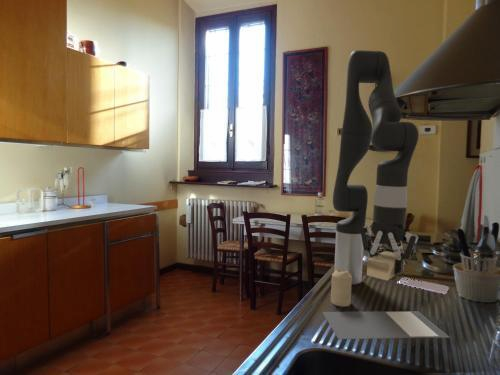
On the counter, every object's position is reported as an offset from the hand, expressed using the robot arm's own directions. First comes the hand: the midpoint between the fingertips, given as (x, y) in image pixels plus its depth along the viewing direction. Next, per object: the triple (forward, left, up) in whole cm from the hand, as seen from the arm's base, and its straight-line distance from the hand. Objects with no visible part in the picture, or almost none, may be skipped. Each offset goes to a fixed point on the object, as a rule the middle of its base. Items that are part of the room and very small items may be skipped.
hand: (386, 270), depth 88 cm
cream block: (0, 0, 0) cm, 0 cm away
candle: (-13, -7, -14) cm, 21 cm away
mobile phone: (-27, +26, -15) cm, 41 cm away
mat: (0, 0, -14) cm, 14 cm away
